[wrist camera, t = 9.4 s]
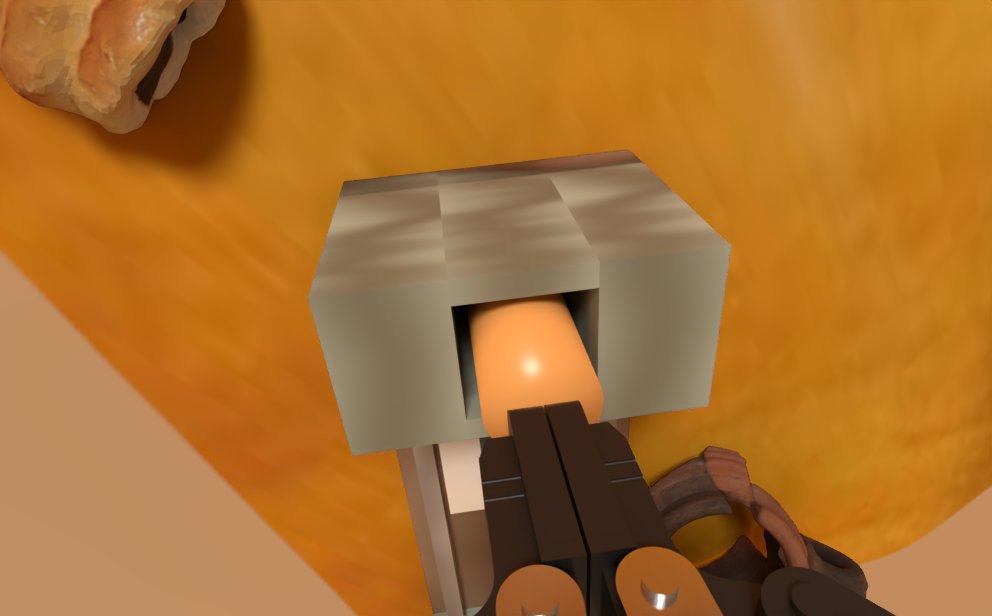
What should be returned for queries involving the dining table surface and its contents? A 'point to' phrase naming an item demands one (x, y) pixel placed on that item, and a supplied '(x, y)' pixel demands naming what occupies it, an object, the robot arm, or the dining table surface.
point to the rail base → (500, 276)
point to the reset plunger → (529, 359)
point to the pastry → (100, 53)
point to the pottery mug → (726, 478)
